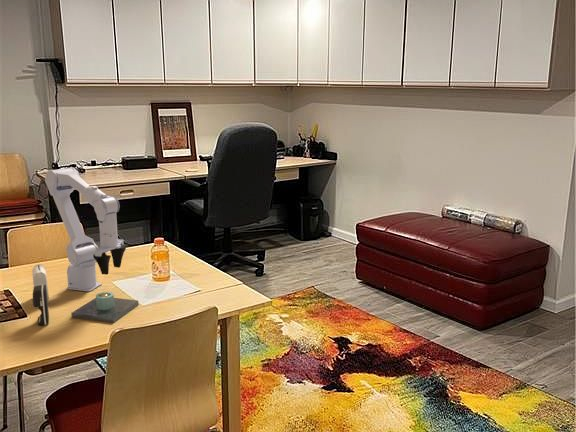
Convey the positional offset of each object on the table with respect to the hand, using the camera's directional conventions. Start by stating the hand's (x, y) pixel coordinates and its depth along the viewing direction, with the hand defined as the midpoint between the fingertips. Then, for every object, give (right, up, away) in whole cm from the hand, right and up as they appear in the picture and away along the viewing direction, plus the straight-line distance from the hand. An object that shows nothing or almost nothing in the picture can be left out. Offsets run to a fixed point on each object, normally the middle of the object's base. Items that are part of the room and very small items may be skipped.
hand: (111, 270), depth 188 cm
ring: (+2, -11, -11) cm, 15 cm away
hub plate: (+2, -12, -10) cm, 16 cm away
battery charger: (-15, -14, -19) cm, 28 cm away
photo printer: (-23, -10, -2) cm, 25 cm away
